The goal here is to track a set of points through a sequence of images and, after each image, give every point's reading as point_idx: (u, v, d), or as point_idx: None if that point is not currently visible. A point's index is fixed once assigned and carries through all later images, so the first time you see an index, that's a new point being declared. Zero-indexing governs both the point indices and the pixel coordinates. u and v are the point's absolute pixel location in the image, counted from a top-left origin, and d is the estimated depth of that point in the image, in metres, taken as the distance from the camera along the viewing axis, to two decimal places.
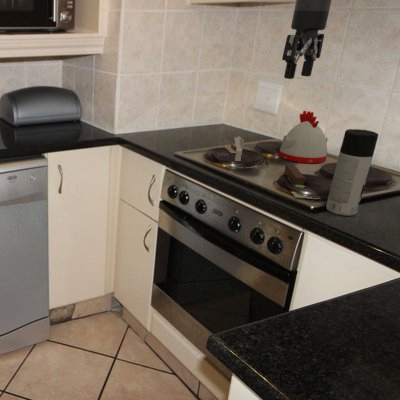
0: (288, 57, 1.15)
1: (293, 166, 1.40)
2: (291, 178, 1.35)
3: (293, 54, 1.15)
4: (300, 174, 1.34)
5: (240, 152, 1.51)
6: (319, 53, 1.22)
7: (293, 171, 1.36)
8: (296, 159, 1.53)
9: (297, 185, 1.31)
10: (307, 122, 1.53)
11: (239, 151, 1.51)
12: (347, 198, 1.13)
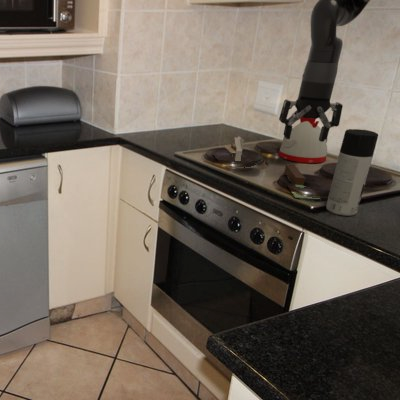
0: (280, 119, 1.29)
1: (293, 166, 1.40)
2: (291, 178, 1.35)
3: (283, 117, 1.28)
4: (300, 174, 1.34)
5: (240, 152, 1.51)
6: (336, 122, 1.26)
7: (293, 171, 1.36)
8: (296, 159, 1.53)
9: (297, 185, 1.31)
10: (307, 122, 1.53)
11: (239, 151, 1.51)
12: (347, 198, 1.13)
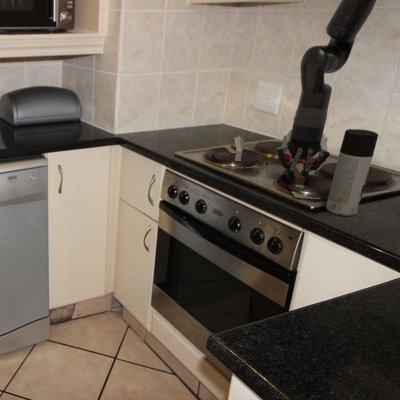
0: (282, 164, 1.34)
1: None
2: None
3: (283, 163, 1.33)
4: (300, 174, 1.34)
5: (240, 152, 1.51)
6: (316, 166, 1.31)
7: None
8: None
9: (297, 185, 1.31)
10: None
11: (239, 151, 1.51)
12: (347, 198, 1.13)
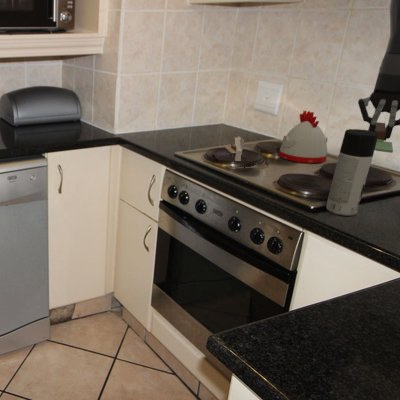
0: None
1: (382, 124, 1.30)
2: None
3: (363, 116, 1.25)
4: (383, 129, 1.25)
5: (240, 152, 1.51)
6: None
7: (377, 127, 1.27)
8: (296, 159, 1.53)
9: None
10: (307, 122, 1.53)
11: (239, 151, 1.51)
12: (347, 198, 1.13)
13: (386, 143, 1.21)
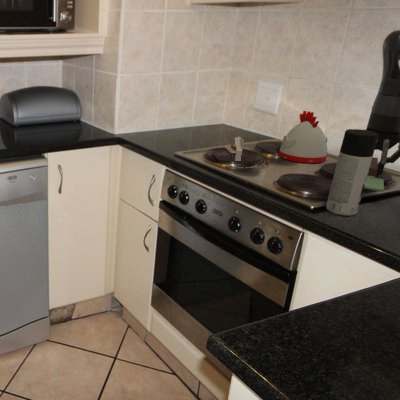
0: None
1: (374, 159, 1.34)
2: None
3: None
4: (375, 166, 1.29)
5: (240, 152, 1.51)
6: (393, 159, 1.25)
7: None
8: (296, 159, 1.53)
9: (367, 176, 1.27)
10: (307, 122, 1.53)
11: (239, 151, 1.51)
12: (347, 198, 1.13)
13: (378, 180, 1.25)
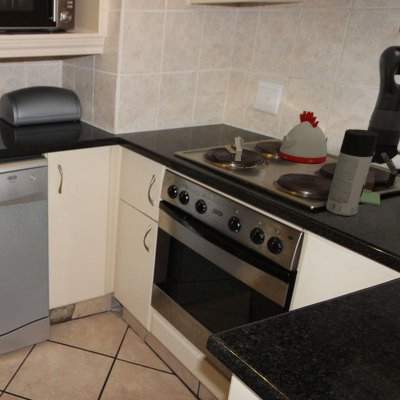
0: None
1: (371, 172, 1.36)
2: None
3: None
4: (371, 179, 1.30)
5: (240, 152, 1.51)
6: None
7: None
8: (296, 159, 1.53)
9: (364, 189, 1.29)
10: (307, 122, 1.53)
11: (239, 151, 1.51)
12: (347, 198, 1.13)
13: (374, 194, 1.26)
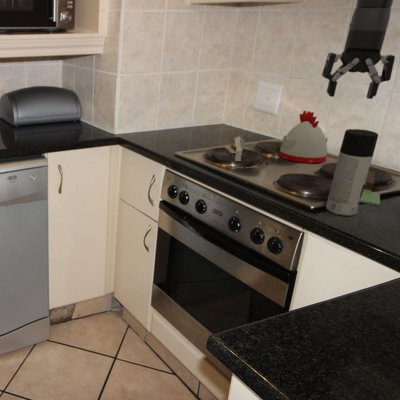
0: (323, 74, 1.19)
1: (371, 172, 1.36)
2: None
3: (327, 71, 1.17)
4: (371, 179, 1.30)
5: (240, 152, 1.51)
6: (387, 76, 1.14)
7: None
8: (296, 159, 1.53)
9: (364, 189, 1.29)
10: (307, 122, 1.53)
11: (239, 151, 1.51)
12: (347, 198, 1.13)
13: (374, 194, 1.26)
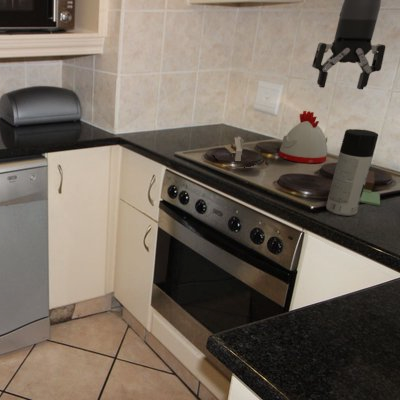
0: (314, 65, 1.16)
1: (371, 172, 1.36)
2: None
3: (317, 62, 1.15)
4: (371, 179, 1.30)
5: (240, 152, 1.51)
6: (378, 66, 1.13)
7: None
8: (296, 159, 1.53)
9: (364, 189, 1.29)
10: (307, 122, 1.53)
11: (239, 151, 1.51)
12: (347, 198, 1.13)
13: (374, 194, 1.26)
